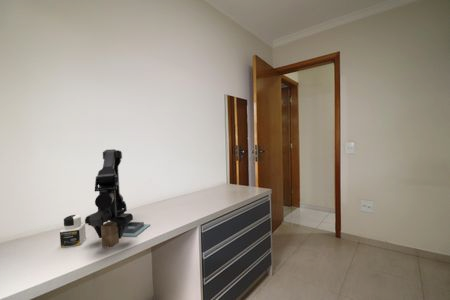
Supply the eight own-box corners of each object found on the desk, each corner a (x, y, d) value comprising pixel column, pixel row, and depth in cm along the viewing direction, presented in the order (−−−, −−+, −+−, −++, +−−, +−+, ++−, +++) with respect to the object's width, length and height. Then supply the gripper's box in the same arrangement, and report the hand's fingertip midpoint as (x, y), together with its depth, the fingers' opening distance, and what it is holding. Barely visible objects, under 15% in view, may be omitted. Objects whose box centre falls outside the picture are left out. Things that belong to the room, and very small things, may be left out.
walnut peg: (102, 246, 86) (100, 225, 86) (109, 241, 91) (108, 221, 91) (111, 247, 86) (110, 226, 85) (118, 242, 90) (117, 221, 90)
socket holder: (110, 236, 97) (110, 230, 96) (127, 224, 109) (127, 220, 109) (135, 236, 95) (135, 231, 94) (150, 225, 107) (150, 220, 107)
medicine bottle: (60, 248, 87) (58, 220, 86) (68, 240, 93) (66, 214, 93) (80, 245, 89) (78, 217, 88) (86, 238, 95) (84, 212, 95)
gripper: (72, 207, 81) (74, 246, 82) (115, 208, 78) (117, 248, 79) (94, 200, 92) (96, 234, 93) (132, 200, 89) (134, 235, 90)
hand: (110, 238), depth 88 cm, fingers open, 9 cm apart
